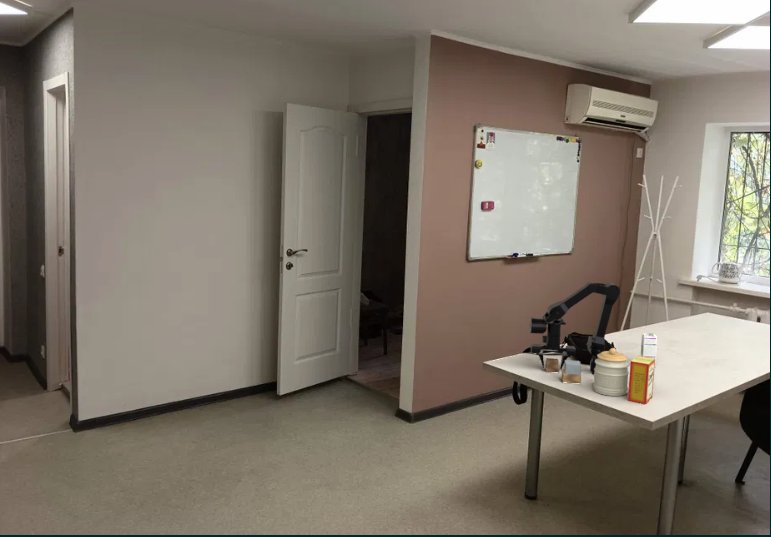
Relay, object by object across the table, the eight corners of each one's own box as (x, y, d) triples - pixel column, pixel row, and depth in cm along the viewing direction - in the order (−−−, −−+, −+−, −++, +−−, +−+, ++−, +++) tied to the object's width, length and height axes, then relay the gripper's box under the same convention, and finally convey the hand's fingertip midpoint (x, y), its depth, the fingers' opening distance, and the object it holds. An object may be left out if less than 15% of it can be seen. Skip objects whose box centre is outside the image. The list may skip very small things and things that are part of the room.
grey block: (578, 370, 267) (579, 361, 266) (580, 374, 261) (581, 365, 260) (564, 369, 268) (564, 360, 267) (565, 373, 262) (566, 364, 261)
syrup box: (655, 368, 283) (658, 336, 281) (641, 367, 284) (644, 335, 282) (653, 364, 288) (655, 333, 286) (639, 363, 290) (641, 332, 287)
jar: (600, 383, 261) (602, 342, 259) (632, 390, 253) (635, 347, 251) (587, 391, 252) (590, 348, 249) (620, 399, 243) (623, 354, 241)
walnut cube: (557, 369, 280) (557, 358, 279) (558, 373, 275) (558, 362, 274) (545, 369, 281) (546, 358, 280) (546, 372, 276) (546, 361, 275)
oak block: (578, 379, 267) (579, 370, 267) (580, 384, 261) (581, 375, 260) (561, 378, 269) (562, 369, 268) (563, 383, 262) (563, 374, 261)
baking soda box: (645, 404, 238) (648, 363, 236) (627, 400, 242) (630, 360, 239) (652, 397, 246) (655, 357, 243) (634, 394, 249) (637, 354, 247)
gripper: (574, 330, 281) (572, 364, 284) (531, 328, 285) (529, 361, 287) (576, 336, 270) (574, 372, 273) (532, 334, 274) (530, 369, 276)
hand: (552, 368), depth 277 cm, fingers open, 7 cm apart
